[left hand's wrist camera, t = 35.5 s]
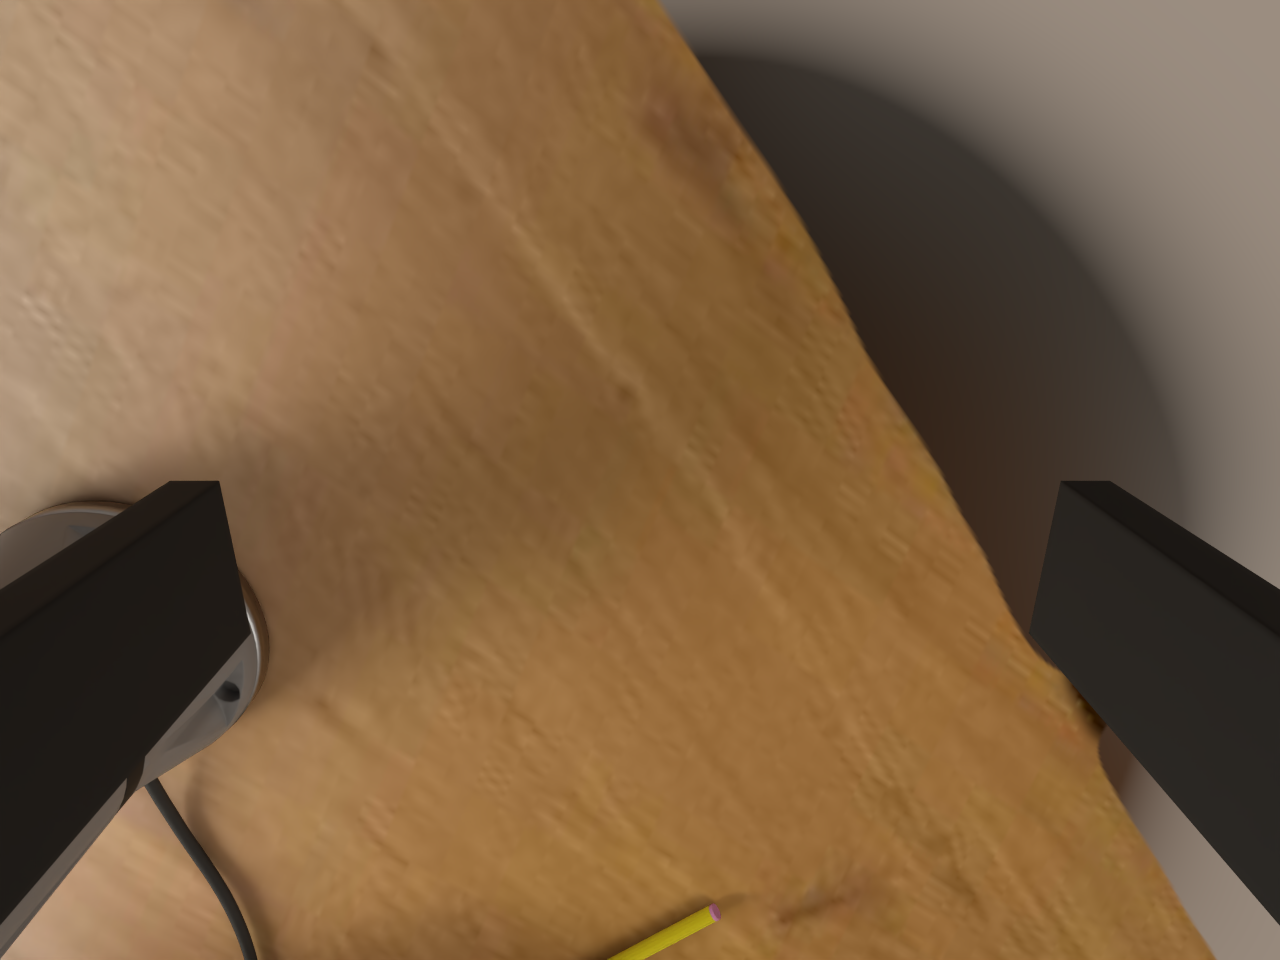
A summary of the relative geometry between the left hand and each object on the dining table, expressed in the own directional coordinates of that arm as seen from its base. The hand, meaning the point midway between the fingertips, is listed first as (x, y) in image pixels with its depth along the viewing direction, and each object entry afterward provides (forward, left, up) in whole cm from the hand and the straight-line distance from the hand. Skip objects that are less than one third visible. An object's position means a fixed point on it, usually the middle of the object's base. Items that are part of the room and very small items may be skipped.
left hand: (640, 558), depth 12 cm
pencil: (-38, +19, -26) cm, 50 cm away
